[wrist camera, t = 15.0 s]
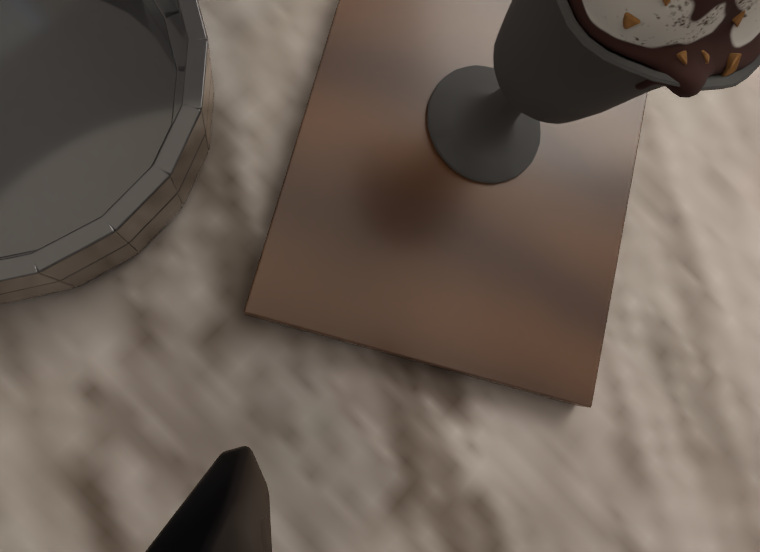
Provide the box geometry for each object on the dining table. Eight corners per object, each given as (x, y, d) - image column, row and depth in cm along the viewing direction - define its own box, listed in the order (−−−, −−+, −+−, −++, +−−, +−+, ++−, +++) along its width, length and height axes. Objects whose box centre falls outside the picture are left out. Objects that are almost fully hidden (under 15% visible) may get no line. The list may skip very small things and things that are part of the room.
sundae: (402, 197, 21) (760, -136, 6) (409, 33, 22) (736, -575, 7) (556, 215, 22) (1123, -20, 8) (557, 62, 23) (1065, -395, 9)
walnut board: (576, 405, 23) (591, 408, 22) (243, 314, 20) (243, 312, 19) (652, -8, 26) (667, -21, 25) (380, -133, 24) (386, -153, 23)
